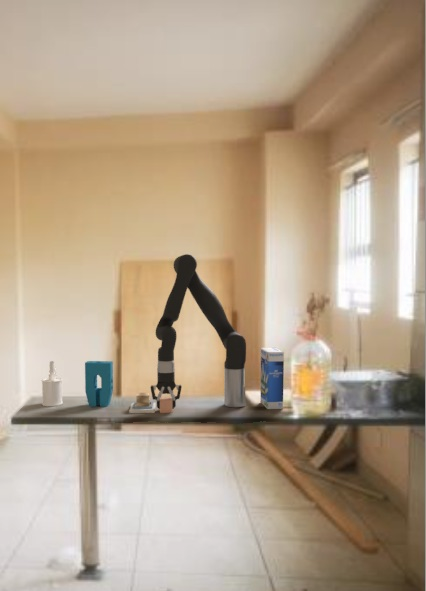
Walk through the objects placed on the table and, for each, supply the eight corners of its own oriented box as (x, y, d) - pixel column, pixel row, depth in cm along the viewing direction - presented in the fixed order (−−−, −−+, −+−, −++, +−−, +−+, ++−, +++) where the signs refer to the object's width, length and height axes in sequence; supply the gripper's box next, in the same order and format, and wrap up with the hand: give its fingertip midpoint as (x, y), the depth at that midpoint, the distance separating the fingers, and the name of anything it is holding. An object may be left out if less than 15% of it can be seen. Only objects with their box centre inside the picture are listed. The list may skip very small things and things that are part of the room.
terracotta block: (172, 409, 233) (172, 397, 232) (172, 412, 227) (172, 400, 227) (160, 409, 232) (160, 397, 232) (159, 412, 227) (159, 400, 226)
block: (113, 404, 242) (113, 361, 241) (110, 406, 237) (110, 363, 236) (88, 403, 243) (87, 361, 242) (85, 406, 238) (84, 362, 237)
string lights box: (260, 402, 244) (260, 347, 243) (275, 401, 246) (275, 347, 244) (267, 409, 231) (268, 352, 230) (284, 408, 233) (284, 351, 231)
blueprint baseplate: (156, 405, 240) (156, 400, 240) (154, 412, 227) (154, 408, 227) (132, 405, 239) (132, 401, 239) (129, 413, 226) (129, 408, 226)
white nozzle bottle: (42, 402, 245) (41, 360, 244) (62, 401, 248) (62, 359, 247) (41, 408, 235) (41, 364, 234) (63, 406, 238) (62, 362, 237)
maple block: (149, 404, 236) (149, 392, 236) (149, 407, 230) (148, 395, 230) (137, 404, 235) (137, 392, 235) (136, 408, 230) (136, 395, 230)
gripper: (182, 368, 233) (182, 406, 234) (150, 369, 232) (150, 406, 233) (182, 372, 225) (182, 410, 226) (149, 372, 225) (149, 411, 225)
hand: (166, 408), depth 230 cm, fingers closed on terracotta block, 5 cm apart
